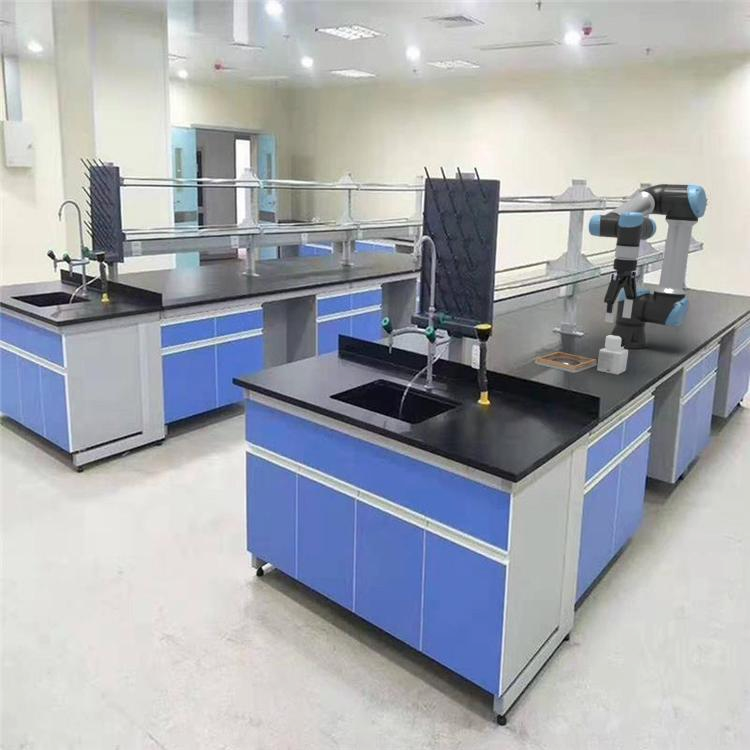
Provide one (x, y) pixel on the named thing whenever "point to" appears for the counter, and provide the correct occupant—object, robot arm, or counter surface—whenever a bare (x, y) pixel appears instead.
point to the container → (613, 355)
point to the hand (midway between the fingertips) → (617, 320)
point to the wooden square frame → (566, 362)
